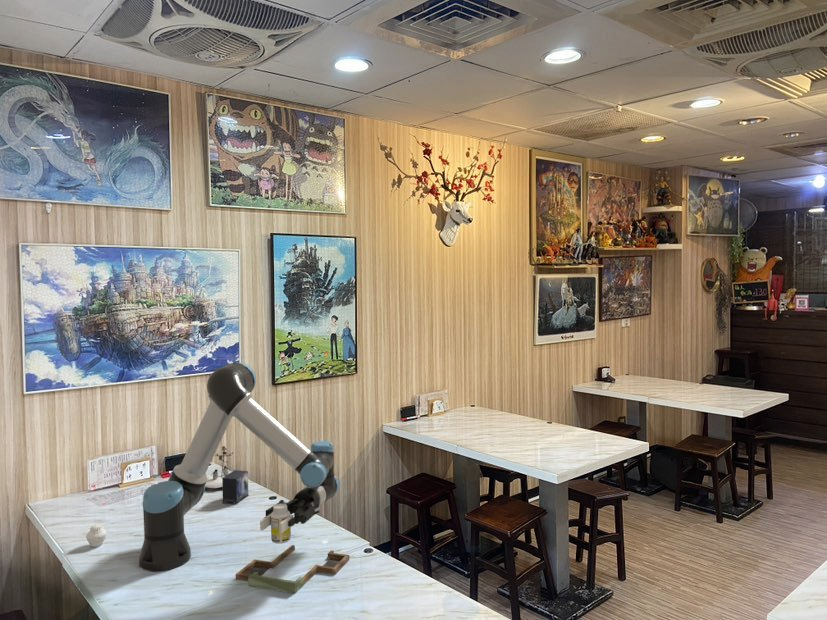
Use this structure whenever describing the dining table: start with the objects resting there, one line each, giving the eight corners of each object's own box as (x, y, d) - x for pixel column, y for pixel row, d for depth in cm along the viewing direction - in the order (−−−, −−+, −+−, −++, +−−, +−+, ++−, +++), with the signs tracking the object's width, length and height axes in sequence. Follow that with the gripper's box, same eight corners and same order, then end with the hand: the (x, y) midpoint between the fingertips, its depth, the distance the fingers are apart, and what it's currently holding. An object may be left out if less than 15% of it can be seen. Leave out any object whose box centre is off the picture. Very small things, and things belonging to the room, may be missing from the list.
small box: (237, 504, 241) (236, 478, 240) (221, 503, 242) (221, 477, 241) (249, 495, 251) (248, 470, 251) (234, 494, 252) (234, 469, 252)
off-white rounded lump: (84, 550, 201) (83, 529, 201) (88, 542, 207) (88, 522, 207) (104, 547, 203) (104, 527, 202) (108, 540, 209) (108, 520, 208)
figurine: (218, 492, 253) (219, 452, 254) (188, 486, 262) (190, 447, 263) (253, 483, 270) (255, 446, 271) (224, 477, 279) (225, 441, 280)
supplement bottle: (291, 536, 181) (290, 501, 180) (289, 543, 175) (289, 508, 175) (272, 537, 180) (271, 502, 180) (270, 545, 175) (269, 509, 174)
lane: (275, 547, 201) (275, 538, 201) (351, 557, 192) (351, 548, 192) (230, 583, 177) (230, 573, 177) (314, 596, 169) (314, 586, 169)
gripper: (336, 513, 192) (300, 543, 170) (284, 507, 198) (242, 536, 176) (336, 490, 192) (300, 517, 170) (283, 484, 197) (242, 510, 175)
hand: (271, 526), depth 173 cm, fingers closed on supplement bottle, 6 cm apart
